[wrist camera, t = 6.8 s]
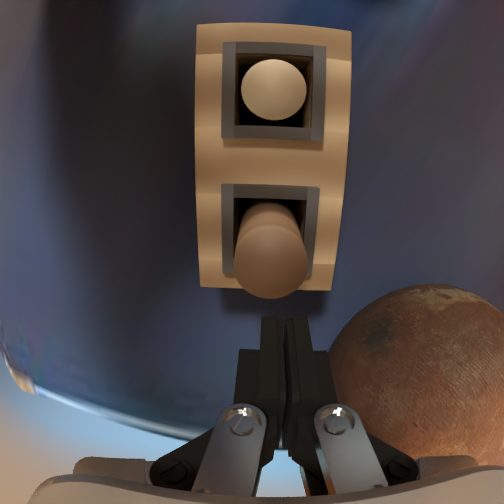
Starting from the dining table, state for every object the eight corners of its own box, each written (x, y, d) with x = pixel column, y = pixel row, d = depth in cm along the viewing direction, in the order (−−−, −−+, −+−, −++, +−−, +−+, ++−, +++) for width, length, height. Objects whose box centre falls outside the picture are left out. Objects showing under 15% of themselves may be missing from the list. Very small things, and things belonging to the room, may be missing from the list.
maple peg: (246, 73, 23) (241, 58, 17) (295, 74, 22) (307, 61, 16) (245, 118, 24) (240, 119, 18) (294, 120, 24) (305, 121, 18)
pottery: (304, 256, 29) (368, 550, 6) (493, 248, 28) (632, 390, 5) (296, 407, 39) (307, 581, 16) (444, 386, 37) (500, 520, 15)
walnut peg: (240, 197, 22) (232, 230, 16) (297, 199, 22) (311, 232, 16) (240, 249, 24) (233, 297, 18) (294, 251, 24) (304, 299, 17)
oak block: (211, 43, 21) (195, 22, 15) (332, 48, 21) (353, 29, 15) (211, 253, 29) (199, 290, 23) (318, 257, 29) (332, 294, 23)
